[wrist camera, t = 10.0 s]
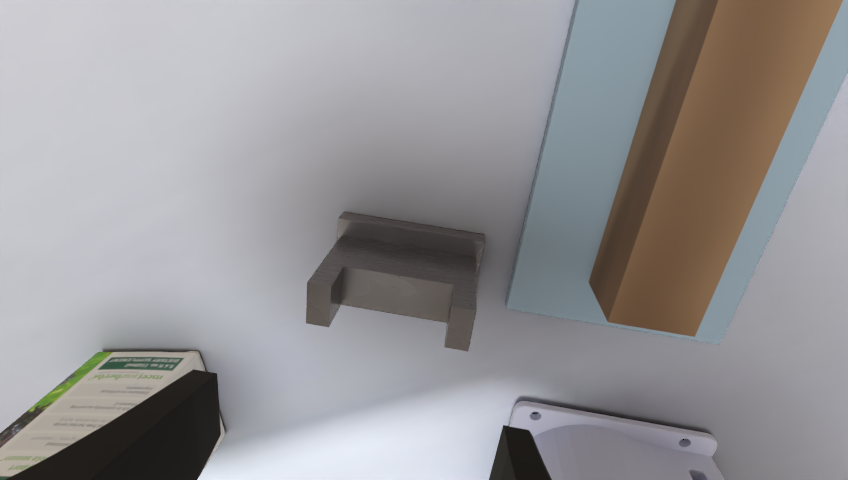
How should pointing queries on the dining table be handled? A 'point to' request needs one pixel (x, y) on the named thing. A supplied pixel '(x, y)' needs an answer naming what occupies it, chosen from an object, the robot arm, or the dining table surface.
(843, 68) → the mat
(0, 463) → the syrup box
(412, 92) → the dining table surface
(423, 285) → the bracket
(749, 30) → the rail
